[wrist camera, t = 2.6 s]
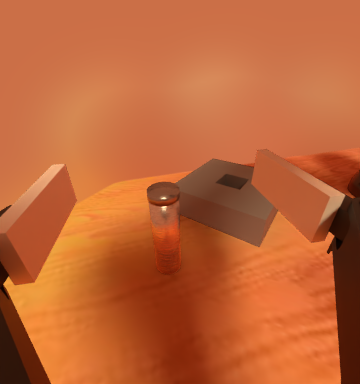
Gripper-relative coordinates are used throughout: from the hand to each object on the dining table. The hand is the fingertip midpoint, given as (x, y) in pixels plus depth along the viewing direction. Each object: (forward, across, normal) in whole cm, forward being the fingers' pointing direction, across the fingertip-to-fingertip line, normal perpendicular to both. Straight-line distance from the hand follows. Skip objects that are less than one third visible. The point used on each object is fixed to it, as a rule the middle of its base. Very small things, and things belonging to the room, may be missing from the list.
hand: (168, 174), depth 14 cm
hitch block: (+25, +16, -20) cm, 36 cm away
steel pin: (+10, 0, -21) cm, 23 cm away
